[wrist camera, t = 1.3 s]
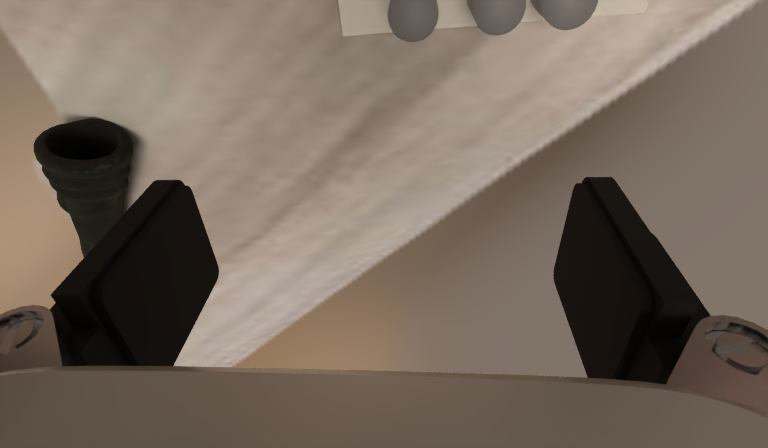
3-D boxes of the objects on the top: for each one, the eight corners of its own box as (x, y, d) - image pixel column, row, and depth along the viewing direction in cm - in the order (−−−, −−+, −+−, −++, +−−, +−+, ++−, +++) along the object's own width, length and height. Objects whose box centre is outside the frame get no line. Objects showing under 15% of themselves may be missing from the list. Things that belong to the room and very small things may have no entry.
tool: (70, 103, 37) (10, 138, 32) (149, 133, 38) (104, 171, 33) (75, 310, 53) (36, 356, 48) (131, 327, 54) (99, 374, 49)
